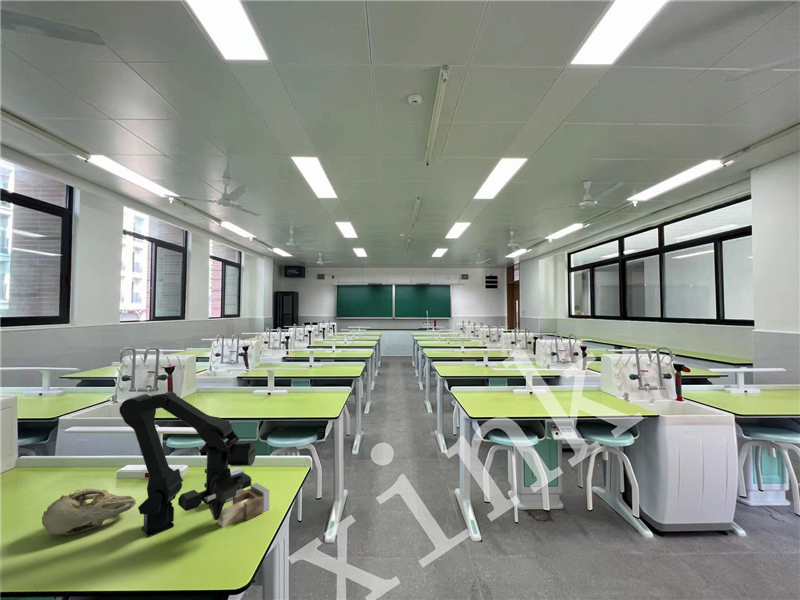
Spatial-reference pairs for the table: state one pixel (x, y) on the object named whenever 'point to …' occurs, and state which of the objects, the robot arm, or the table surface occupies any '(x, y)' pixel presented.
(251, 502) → the cradle
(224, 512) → the block
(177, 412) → the robot arm
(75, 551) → the table surface
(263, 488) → the wall
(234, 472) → the medicine box
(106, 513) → the skull
